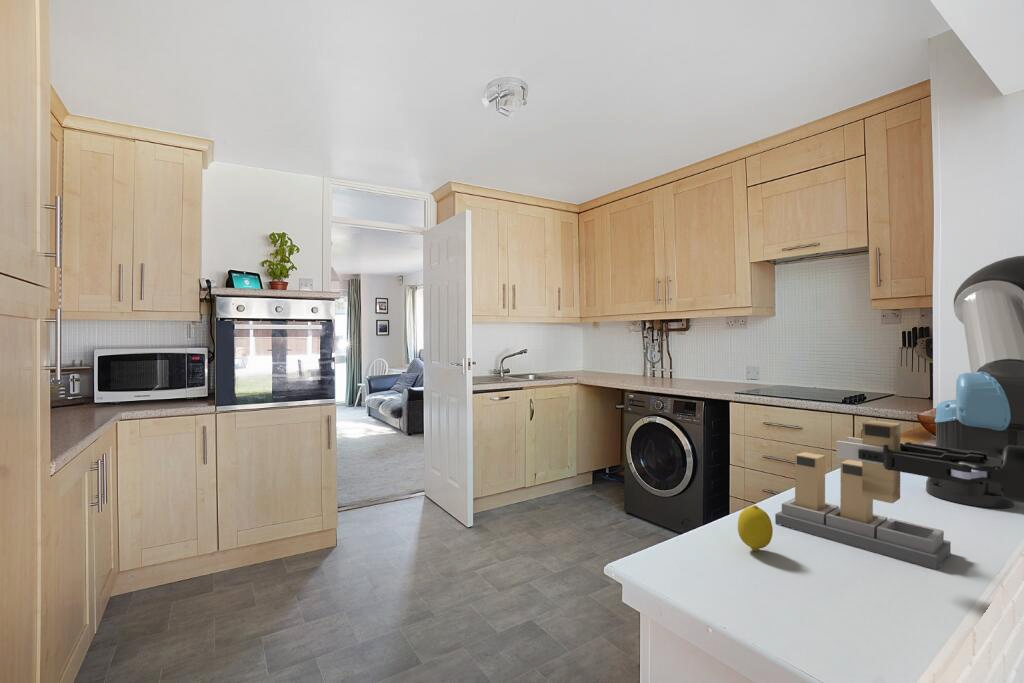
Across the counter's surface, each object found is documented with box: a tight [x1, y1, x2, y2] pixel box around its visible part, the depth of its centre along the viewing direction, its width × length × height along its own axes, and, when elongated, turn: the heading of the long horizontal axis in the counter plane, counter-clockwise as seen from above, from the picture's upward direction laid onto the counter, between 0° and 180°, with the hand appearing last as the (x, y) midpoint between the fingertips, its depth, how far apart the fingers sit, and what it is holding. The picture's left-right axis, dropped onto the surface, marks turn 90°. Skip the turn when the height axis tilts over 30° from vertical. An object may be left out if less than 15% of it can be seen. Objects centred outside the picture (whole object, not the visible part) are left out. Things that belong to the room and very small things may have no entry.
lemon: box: [737, 504, 774, 552], centre depth 86 cm, size 6×6×8 cm
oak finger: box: [861, 420, 901, 504], centre depth 79 cm, size 4×4×12 cm
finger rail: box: [774, 451, 952, 571], centre depth 92 cm, size 10×25×14 cm, turn 38°
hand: (842, 447), depth 83 cm, fingers closed on oak finger, 4 cm apart
